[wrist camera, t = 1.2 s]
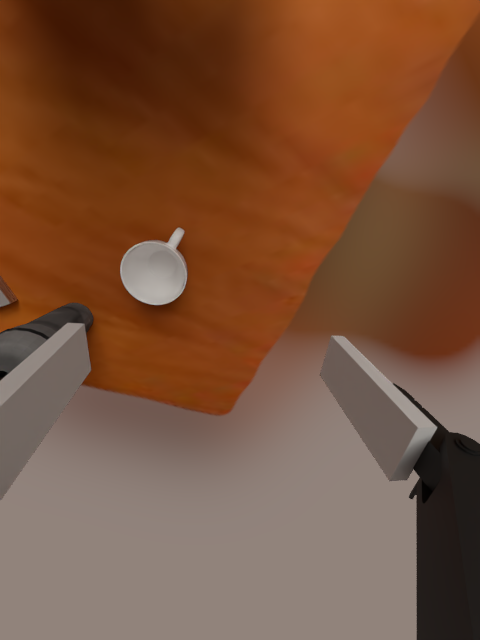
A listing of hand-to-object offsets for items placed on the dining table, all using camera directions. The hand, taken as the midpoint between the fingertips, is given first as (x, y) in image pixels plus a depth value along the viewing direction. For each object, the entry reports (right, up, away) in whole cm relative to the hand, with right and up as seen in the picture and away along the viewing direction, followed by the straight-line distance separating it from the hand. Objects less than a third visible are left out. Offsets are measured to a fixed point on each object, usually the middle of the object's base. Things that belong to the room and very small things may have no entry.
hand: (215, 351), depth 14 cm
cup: (-9, +11, +23) cm, 27 cm away
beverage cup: (-23, +2, +25) cm, 34 cm away
